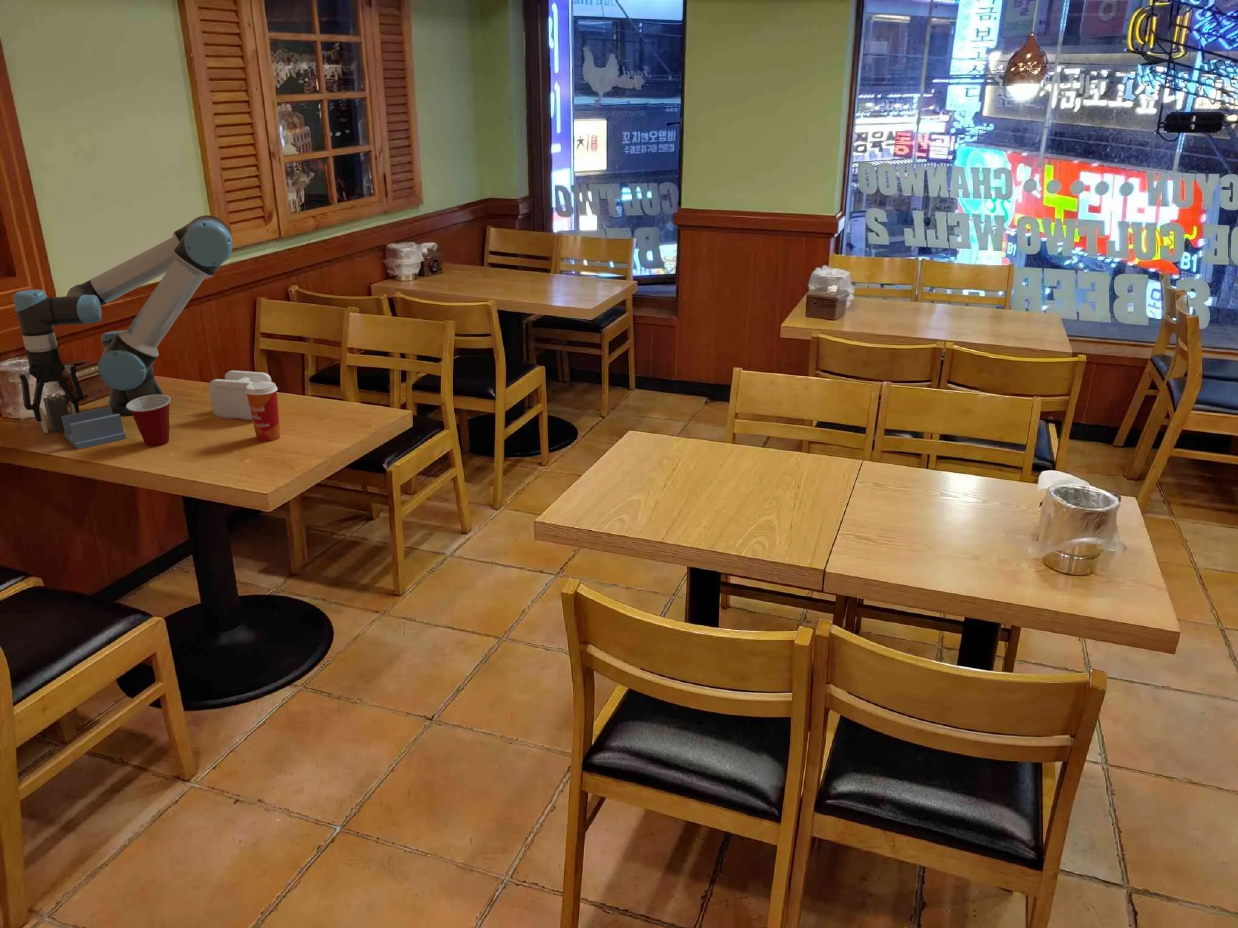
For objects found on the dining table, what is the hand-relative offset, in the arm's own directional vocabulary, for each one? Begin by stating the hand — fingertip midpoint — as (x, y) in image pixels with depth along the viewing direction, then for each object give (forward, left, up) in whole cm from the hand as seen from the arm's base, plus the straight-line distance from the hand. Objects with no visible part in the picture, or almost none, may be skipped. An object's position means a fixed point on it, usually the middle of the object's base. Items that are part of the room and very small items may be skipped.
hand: (60, 428), depth 256 cm
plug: (0, 0, 0) cm, 0 cm away
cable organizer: (-43, +22, -1) cm, 48 cm away
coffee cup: (-40, +45, 0) cm, 60 cm away
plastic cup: (-16, +29, 0) cm, 33 cm away
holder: (-5, +14, 0) cm, 15 cm away
